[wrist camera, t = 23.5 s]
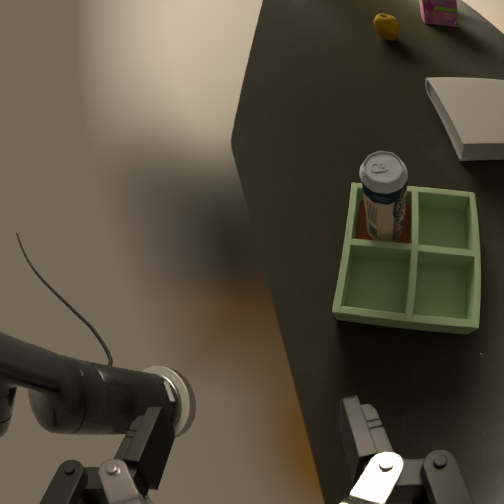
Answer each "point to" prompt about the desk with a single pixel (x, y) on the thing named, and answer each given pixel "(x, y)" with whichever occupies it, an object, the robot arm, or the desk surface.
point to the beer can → (384, 195)
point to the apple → (386, 26)
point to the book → (471, 115)
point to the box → (439, 12)
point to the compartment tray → (414, 265)
